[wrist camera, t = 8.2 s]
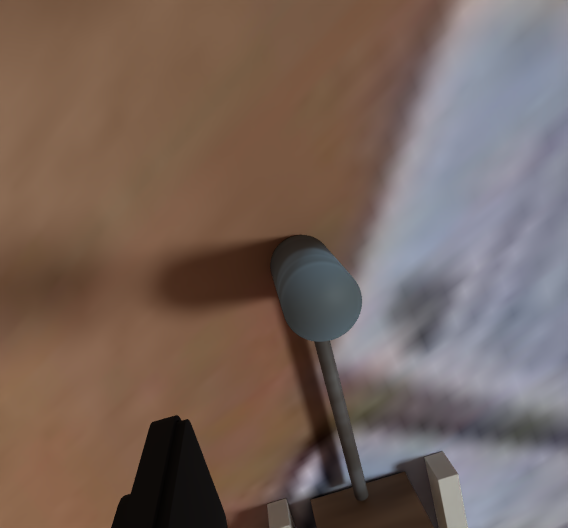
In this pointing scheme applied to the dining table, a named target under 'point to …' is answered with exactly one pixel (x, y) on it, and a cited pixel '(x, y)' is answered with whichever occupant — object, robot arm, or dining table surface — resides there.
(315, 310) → the knobbed lever joystick
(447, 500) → the lever switch box
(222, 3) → the dining table surface
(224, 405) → the dining table surface
